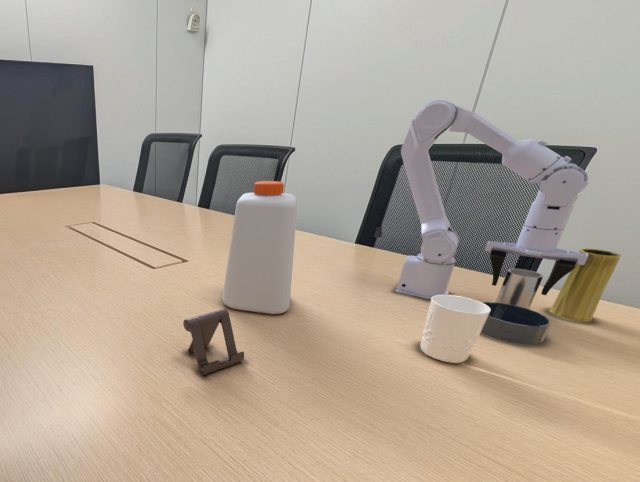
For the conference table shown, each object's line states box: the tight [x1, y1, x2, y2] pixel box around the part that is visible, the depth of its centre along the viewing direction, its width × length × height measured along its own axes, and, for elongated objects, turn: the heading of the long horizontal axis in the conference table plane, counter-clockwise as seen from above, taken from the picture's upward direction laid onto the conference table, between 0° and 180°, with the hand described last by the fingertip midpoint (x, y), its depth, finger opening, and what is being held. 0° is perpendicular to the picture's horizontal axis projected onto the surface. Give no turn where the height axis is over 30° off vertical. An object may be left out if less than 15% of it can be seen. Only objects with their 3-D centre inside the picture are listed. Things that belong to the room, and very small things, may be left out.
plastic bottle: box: [221, 180, 298, 315], centre depth 86 cm, size 15×15×28 cm
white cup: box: [419, 294, 491, 364], centre depth 66 cm, size 8×8×10 cm
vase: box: [549, 248, 622, 322], centre depth 77 cm, size 6×6×14 cm
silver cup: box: [495, 268, 544, 310], centre depth 81 cm, size 5×5×9 cm
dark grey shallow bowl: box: [480, 301, 552, 345], centre depth 74 cm, size 11×11×4 cm
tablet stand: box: [182, 308, 245, 376], centre depth 66 cm, size 9×8×8 cm
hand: (518, 288), depth 81 cm, fingers open, 7 cm apart
